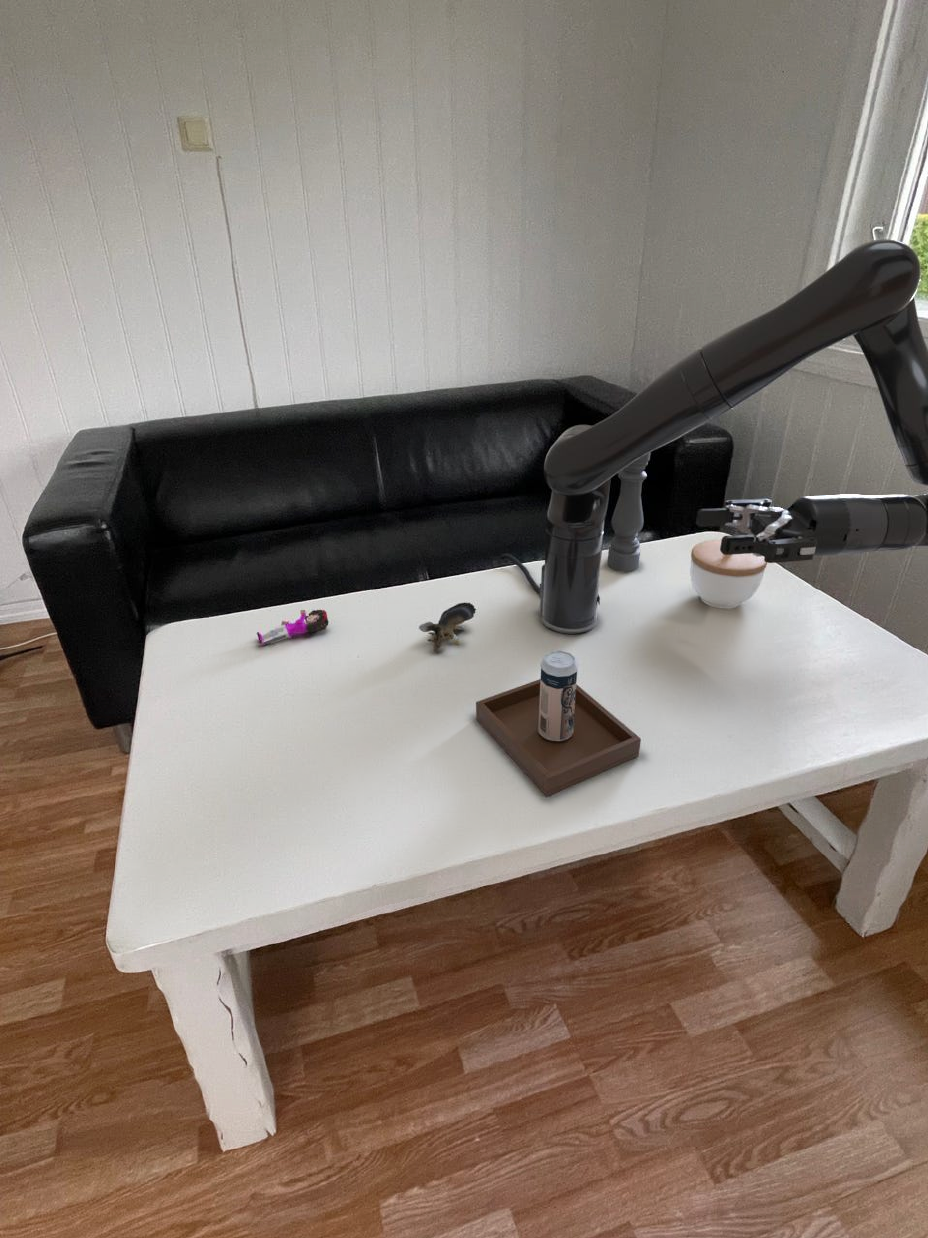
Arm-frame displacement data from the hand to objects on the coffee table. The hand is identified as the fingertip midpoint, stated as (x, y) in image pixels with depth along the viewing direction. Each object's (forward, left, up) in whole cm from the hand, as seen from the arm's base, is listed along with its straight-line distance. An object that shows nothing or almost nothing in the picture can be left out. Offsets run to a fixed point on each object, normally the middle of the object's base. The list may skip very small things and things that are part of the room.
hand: (709, 531), depth 87 cm
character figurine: (-47, -43, -27) cm, 69 cm away
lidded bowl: (-19, +28, -27) cm, 43 cm away
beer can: (-3, -20, -26) cm, 33 cm away
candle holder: (-39, +22, -27) cm, 52 cm away
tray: (-3, -20, -27) cm, 34 cm away
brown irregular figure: (-32, -21, -27) cm, 47 cm away
